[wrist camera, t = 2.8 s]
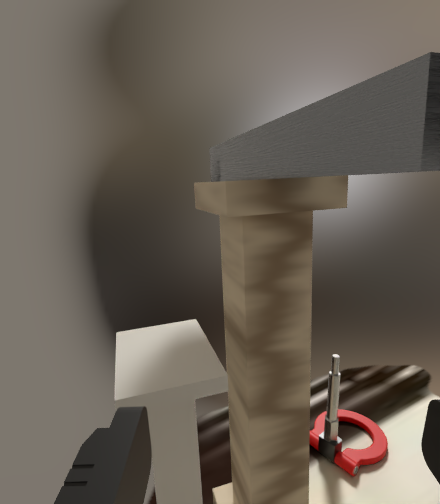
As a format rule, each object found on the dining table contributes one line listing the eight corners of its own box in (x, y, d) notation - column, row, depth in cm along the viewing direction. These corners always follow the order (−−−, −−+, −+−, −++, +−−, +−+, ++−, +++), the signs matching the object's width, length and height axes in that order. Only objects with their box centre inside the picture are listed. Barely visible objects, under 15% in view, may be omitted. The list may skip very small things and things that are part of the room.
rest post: (210, 533, 30) (195, 319, 25) (240, 649, 22) (227, 375, 18) (145, 557, 28) (116, 332, 24) (153, 691, 21) (114, 400, 16)
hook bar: (242, 201, 31) (240, 147, 30) (488, 232, 10) (511, 59, 9) (212, 203, 30) (209, 148, 29) (414, 241, 9) (430, 52, 8)
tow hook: (337, 408, 46) (296, 438, 40) (343, 323, 43) (300, 343, 38) (399, 444, 39) (359, 486, 34) (410, 347, 37) (369, 375, 31)
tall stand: (284, 480, 35) (282, 178, 28) (337, 575, 26) (353, 175, 19) (213, 504, 32) (192, 182, 26) (246, 616, 24) (228, 181, 17)
